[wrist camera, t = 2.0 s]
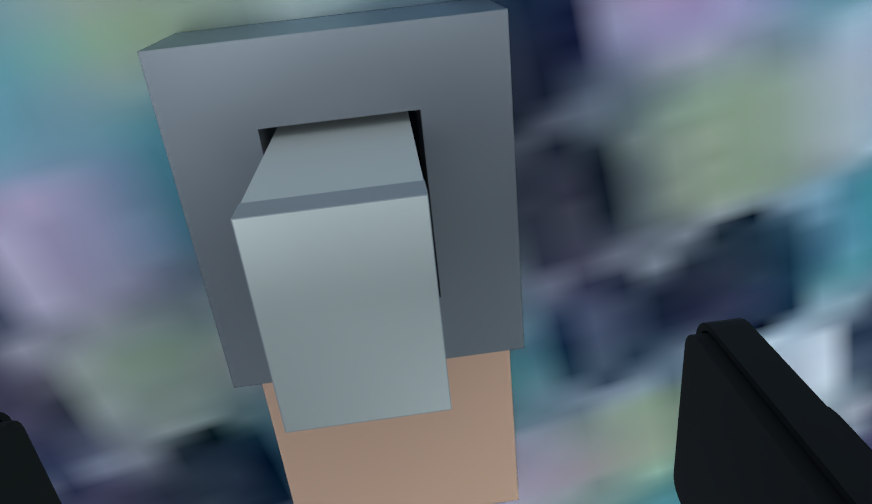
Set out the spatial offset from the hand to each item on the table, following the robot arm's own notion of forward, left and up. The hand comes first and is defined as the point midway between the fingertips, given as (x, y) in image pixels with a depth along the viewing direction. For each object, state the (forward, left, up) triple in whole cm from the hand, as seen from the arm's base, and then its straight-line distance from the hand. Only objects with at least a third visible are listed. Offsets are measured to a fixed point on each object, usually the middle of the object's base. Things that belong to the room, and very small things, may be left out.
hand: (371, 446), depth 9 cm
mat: (-11, 0, -13) cm, 17 cm away
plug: (0, 0, -13) cm, 13 cm away
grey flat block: (0, 0, -13) cm, 13 cm away
